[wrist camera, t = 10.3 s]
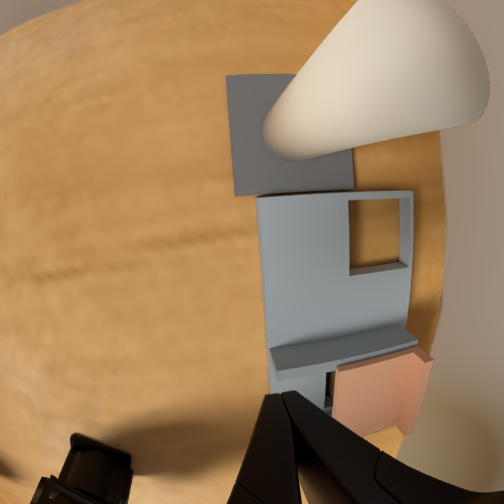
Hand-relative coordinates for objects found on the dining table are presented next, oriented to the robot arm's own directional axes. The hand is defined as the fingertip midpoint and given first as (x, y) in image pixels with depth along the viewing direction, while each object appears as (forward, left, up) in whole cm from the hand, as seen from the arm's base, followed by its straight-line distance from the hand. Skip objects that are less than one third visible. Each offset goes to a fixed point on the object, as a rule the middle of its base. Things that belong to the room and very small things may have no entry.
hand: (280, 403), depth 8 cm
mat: (0, +10, -13) cm, 16 cm away
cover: (+11, -5, -9) cm, 15 cm away
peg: (0, +10, -13) cm, 16 cm away
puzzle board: (+8, -1, -13) cm, 15 cm away
